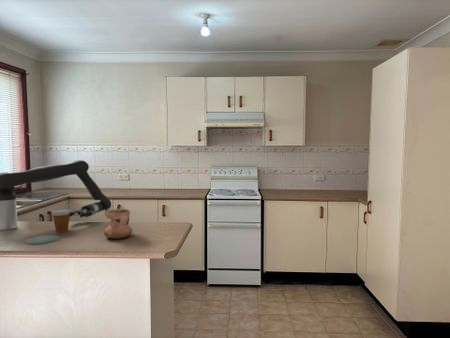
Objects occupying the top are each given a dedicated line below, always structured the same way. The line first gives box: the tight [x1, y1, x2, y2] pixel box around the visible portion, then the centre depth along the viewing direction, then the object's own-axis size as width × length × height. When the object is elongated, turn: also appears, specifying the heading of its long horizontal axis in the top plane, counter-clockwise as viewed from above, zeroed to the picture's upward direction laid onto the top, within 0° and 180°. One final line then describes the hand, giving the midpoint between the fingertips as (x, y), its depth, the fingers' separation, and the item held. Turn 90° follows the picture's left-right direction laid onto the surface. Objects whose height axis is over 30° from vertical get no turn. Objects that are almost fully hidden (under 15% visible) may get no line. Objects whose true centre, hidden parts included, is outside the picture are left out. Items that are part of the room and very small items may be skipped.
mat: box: [24, 234, 61, 246], centre depth 169 cm, size 16×16×1 cm
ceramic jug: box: [103, 208, 133, 240], centre depth 174 cm, size 18×14×14 cm
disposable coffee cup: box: [51, 208, 71, 233], centre depth 186 cm, size 10×10×12 cm
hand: (74, 215), depth 197 cm, fingers open, 8 cm apart
